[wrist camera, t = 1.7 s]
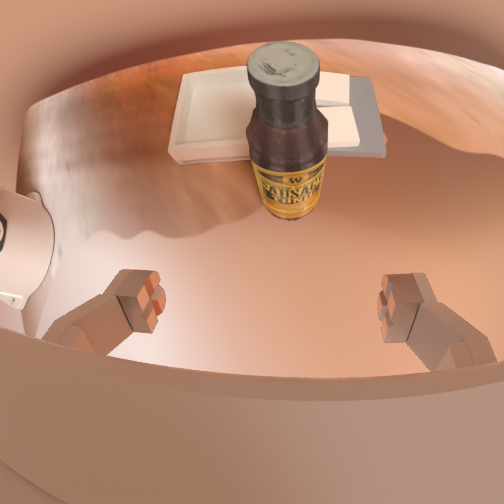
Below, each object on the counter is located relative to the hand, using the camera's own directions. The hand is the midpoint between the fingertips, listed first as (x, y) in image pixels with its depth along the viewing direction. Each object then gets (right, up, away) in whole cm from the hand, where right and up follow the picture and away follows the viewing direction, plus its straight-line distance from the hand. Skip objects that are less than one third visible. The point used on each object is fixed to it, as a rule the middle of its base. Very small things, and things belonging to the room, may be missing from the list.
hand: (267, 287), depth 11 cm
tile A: (+9, +15, +22) cm, 28 cm away
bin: (-4, +18, +26) cm, 32 cm away
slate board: (+10, +18, +24) cm, 32 cm away
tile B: (+9, +21, +23) cm, 33 cm away
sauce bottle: (+4, +7, +23) cm, 24 cm away
